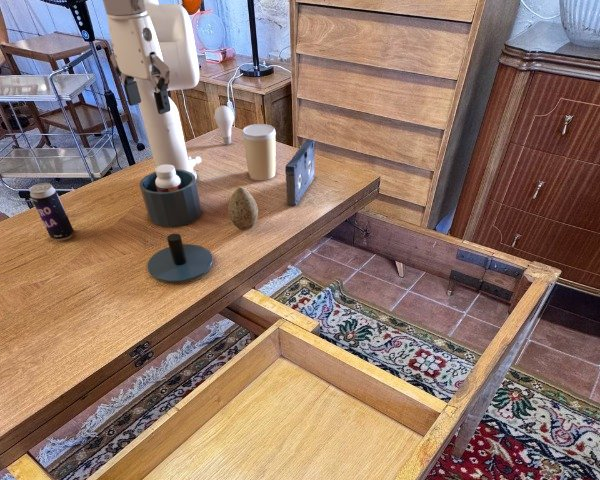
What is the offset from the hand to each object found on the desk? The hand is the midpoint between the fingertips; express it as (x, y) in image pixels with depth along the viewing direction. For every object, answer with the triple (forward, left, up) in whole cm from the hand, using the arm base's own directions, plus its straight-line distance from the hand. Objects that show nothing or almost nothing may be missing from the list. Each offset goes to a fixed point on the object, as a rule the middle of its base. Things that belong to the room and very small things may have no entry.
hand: (149, 108), depth 97 cm
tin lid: (+16, +19, -24) cm, 34 cm away
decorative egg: (-5, +20, -24) cm, 32 cm away
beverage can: (+24, -15, -24) cm, 37 cm away
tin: (0, 0, -24) cm, 24 cm away
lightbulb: (-42, -20, -24) cm, 53 cm away
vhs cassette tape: (-29, +20, -24) cm, 43 cm away
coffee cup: (-31, +4, -24) cm, 40 cm away
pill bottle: (0, 0, -24) cm, 24 cm away
